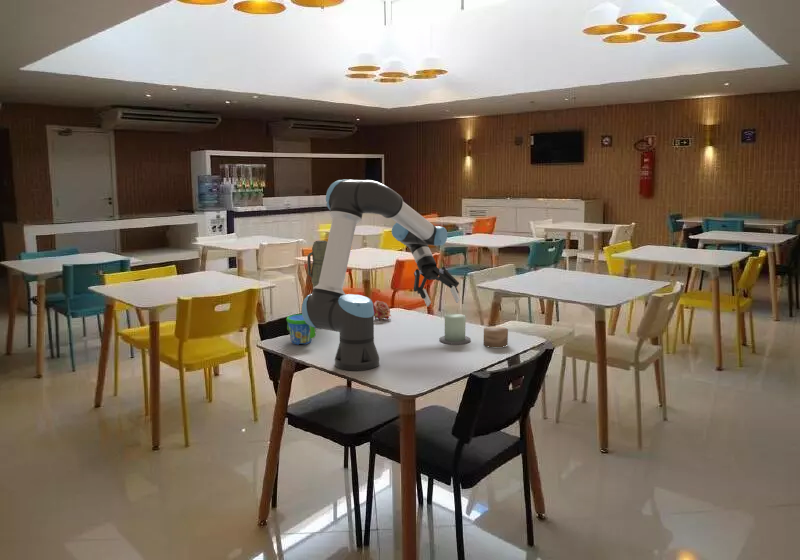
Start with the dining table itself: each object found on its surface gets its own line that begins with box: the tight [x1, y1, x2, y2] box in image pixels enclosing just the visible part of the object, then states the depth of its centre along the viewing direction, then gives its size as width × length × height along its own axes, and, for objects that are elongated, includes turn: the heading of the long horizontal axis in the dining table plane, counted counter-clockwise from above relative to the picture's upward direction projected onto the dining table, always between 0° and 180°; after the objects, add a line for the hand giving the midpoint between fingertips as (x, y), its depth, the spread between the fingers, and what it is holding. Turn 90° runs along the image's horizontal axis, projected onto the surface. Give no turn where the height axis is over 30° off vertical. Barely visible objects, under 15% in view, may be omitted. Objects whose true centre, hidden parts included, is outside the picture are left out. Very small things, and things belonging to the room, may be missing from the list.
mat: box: [439, 335, 471, 346], centre depth 253 cm, size 12×12×1 cm
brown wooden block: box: [483, 325, 509, 348], centre depth 246 cm, size 9×9×6 cm
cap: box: [444, 313, 466, 342], centre depth 252 cm, size 8×8×9 cm
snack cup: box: [285, 313, 317, 346], centre depth 250 cm, size 16×10×10 cm
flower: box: [373, 299, 392, 321], centre depth 288 cm, size 10×9×8 cm
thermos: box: [306, 240, 328, 289], centre depth 282 cm, size 9×12×35 cm
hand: (443, 302), depth 258 cm, fingers open, 13 cm apart
